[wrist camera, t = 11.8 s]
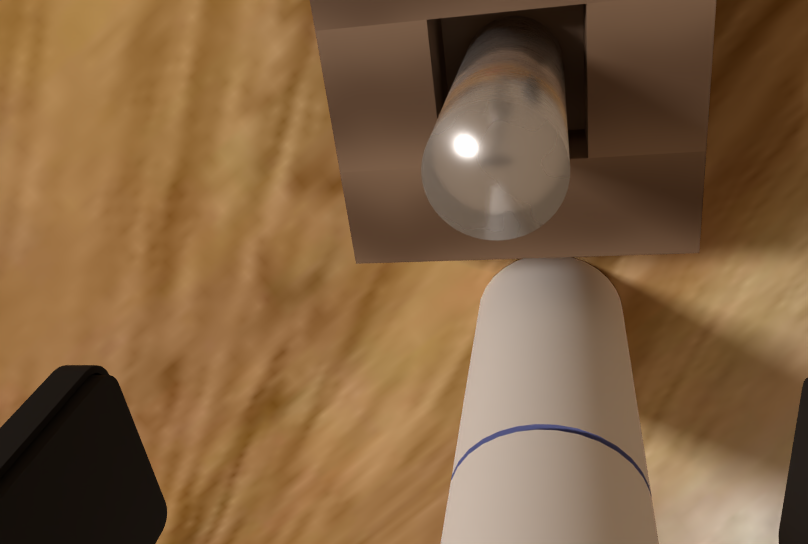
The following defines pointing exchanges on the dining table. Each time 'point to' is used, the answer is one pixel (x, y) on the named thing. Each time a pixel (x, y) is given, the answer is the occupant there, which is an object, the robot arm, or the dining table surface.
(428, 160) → the steel peg
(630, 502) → the cylindrical container
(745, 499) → the dining table surface
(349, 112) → the walnut socket block
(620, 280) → the dining table surface
